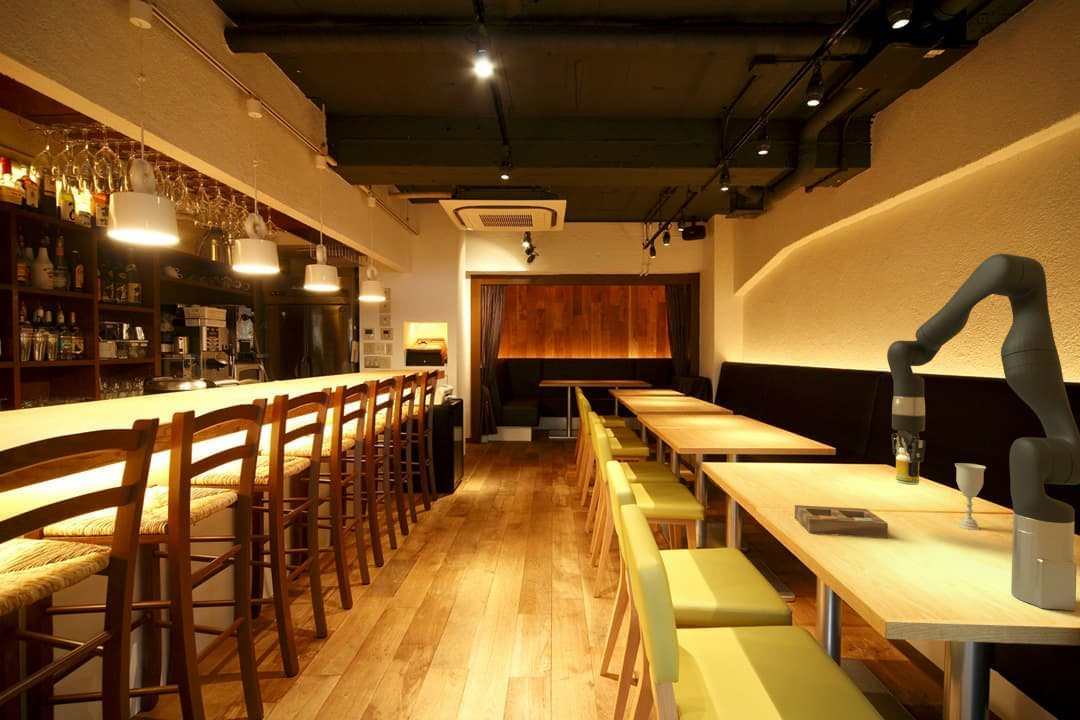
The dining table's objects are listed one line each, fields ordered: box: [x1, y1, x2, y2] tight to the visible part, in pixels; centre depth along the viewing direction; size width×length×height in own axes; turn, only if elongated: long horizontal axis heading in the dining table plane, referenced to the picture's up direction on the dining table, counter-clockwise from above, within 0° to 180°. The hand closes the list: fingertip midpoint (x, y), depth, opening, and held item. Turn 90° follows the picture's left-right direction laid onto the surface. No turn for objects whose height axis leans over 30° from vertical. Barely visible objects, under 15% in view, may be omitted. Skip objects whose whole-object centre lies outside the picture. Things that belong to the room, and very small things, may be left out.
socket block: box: [794, 504, 889, 539], centre depth 157 cm, size 14×20×4 cm
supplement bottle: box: [895, 447, 920, 486], centre depth 150 cm, size 5×5×10 cm
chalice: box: [954, 462, 987, 531], centre depth 158 cm, size 7×7×18 cm
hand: (907, 473), depth 150 cm, fingers closed on supplement bottle, 5 cm apart
